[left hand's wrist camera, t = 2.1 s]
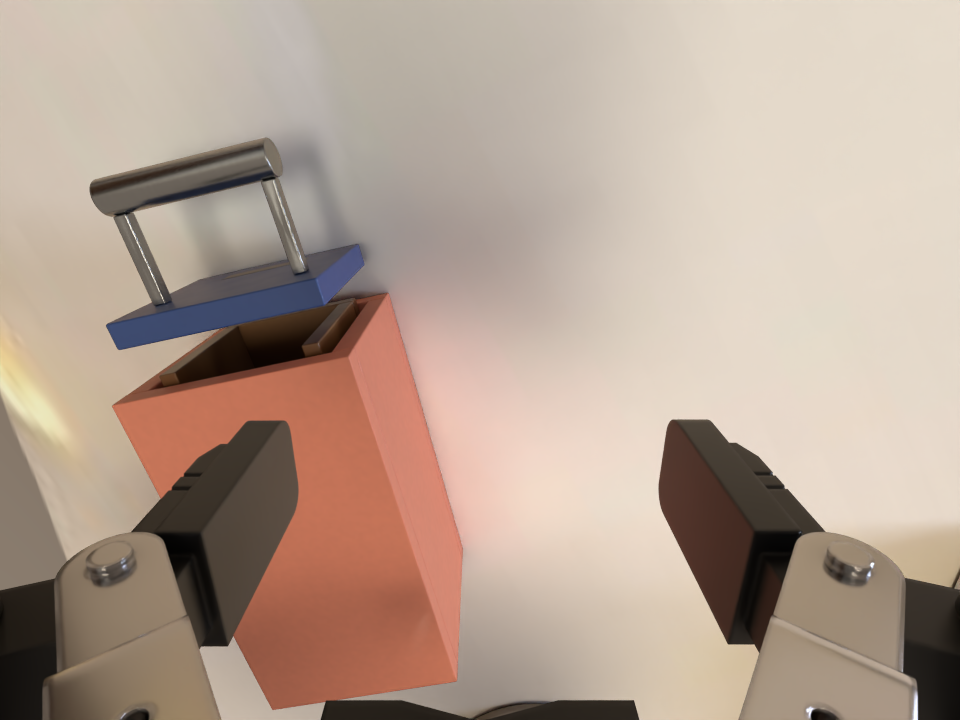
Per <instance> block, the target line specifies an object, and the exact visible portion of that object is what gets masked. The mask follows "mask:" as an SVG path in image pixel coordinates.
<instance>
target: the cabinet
mask: <svg viewBox="0 0 960 720" xmlns="http://www.w3.org/2000/svg"><path fill="white" fill-rule="evenodd" d="M356 302H357V305H358V308H359V311H360V314H359V315H358V316H357V318H356V319H355V321H354V322H353V323H352V325H351V326H350V328H349V329H348V330H347V332H346V333H345V335H344V336H343V337H342V339H341V340H340V342H339V343H338V344H337V346H336V347H335V349H334V350H333V351H332V353H327V354H322V355H317V356H312V357H308V358H303V359H298V360H293V361H289V362H284V363H279V364H274V365H270V366H265V367H260V368H255V369H251V370H246V371H241V372H236V373H231V374H227V375H222V376H217V377H212V378H208V379H203V380H198V381H193V382H189V383H184V384H179V385H174V386H169V387H165V388H164V386H163V384H162V382H161V380H160V378H159V376H160V375H161V374H163V373H164V372H165V371H167V370H168V369H170V368H171V367H172V366H174V365H175V364H177V363H178V362H179V361H181V360H182V359H184V358H185V357H186V356H188V355H189V354H190V353H192V352H193V351H195V350H196V349H197V348H199V347H200V346H202V345H203V344H204V343H206V342H207V341H209V340H210V339H211V338H213V337H214V336H216V335H217V334H218V333H220V332H221V331H223V330H224V329H226V328H224V329H220V330H218V331H217V332H216V333H214V334H213V335H212V336H210V337H209V338H208V339H206V340H205V341H203V342H202V343H201V344H199V345H198V346H196V347H195V348H193V349H192V350H191V351H189V352H188V353H186V354H185V355H184V356H182V357H181V358H179V359H178V360H177V361H175V362H174V363H172V364H171V365H169V366H168V367H167V368H165V369H164V370H162V371H161V372H160V373H158V374H157V375H155V376H154V377H152V378H151V379H150V380H148V381H147V382H145V383H144V384H143V385H141V386H140V387H138V388H137V389H136V390H134V391H133V392H131V393H130V394H129V395H127V396H125V397H124V398H122V399H121V400H119V401H118V402H117V403H115V404H114V405H113V406H112V407H113V409H114V411H115V413H116V415H117V416H118V418H119V420H120V422H121V424H122V426H123V428H124V430H125V432H126V434H127V435H128V437H129V439H130V441H131V443H132V445H133V447H134V449H135V451H136V452H137V454H138V456H139V458H140V460H141V462H142V464H143V466H144V468H145V469H146V471H147V473H148V475H149V477H150V479H151V481H152V483H153V485H154V487H155V488H156V490H157V492H158V494H159V496H160V498H162V497H163V496H164V495H165V494H166V493H167V492H168V490H172V486H173V485H174V484H175V483H176V482H177V480H178V479H179V478H180V477H183V476H184V473H185V472H186V470H187V469H188V468H189V467H190V466H191V465H192V464H193V463H194V462H195V460H196V459H197V458H198V457H200V456H201V455H203V454H205V453H206V452H208V451H210V450H211V449H213V448H215V447H216V446H218V445H219V444H228V443H229V441H230V440H231V439H232V438H233V437H234V435H235V434H236V433H237V432H238V431H239V430H240V428H241V427H242V426H243V425H244V424H245V423H246V422H247V421H250V420H284V421H286V422H287V423H288V425H289V427H290V431H291V438H292V444H293V451H294V458H295V464H296V471H297V478H298V486H299V494H298V503H297V507H296V511H295V513H294V516H293V518H292V520H291V522H290V524H289V526H288V528H287V530H286V532H285V534H284V535H283V537H282V539H281V541H280V543H279V545H278V547H277V549H276V551H275V553H274V555H273V557H272V559H271V561H270V563H269V565H268V567H267V569H266V571H265V573H264V575H263V577H262V579H261V581H260V583H259V585H258V587H257V589H256V591H255V593H254V595H253V597H252V599H251V601H250V603H249V605H248V607H247V609H246V611H245V613H244V615H243V617H242V619H241V621H240V623H239V625H238V627H237V629H236V631H235V633H234V635H233V636H234V638H235V640H236V642H237V644H238V646H239V647H240V649H241V651H242V653H243V655H244V657H245V659H246V661H247V663H248V664H249V666H250V668H251V670H252V672H253V674H254V676H255V678H256V680H257V681H258V683H259V685H260V687H261V689H262V691H263V693H264V695H265V697H266V699H267V700H268V702H269V704H270V706H271V708H272V710H276V709H282V708H289V707H295V706H301V705H308V704H314V703H321V702H326V700H340V699H347V698H353V697H359V696H366V695H372V694H379V693H385V692H392V691H398V690H404V689H411V688H417V687H424V686H430V685H437V684H443V683H450V682H456V681H457V669H458V664H457V663H458V645H459V622H460V599H461V576H462V555H463V548H462V545H461V541H460V538H459V534H458V531H457V528H456V524H455V521H454V517H453V514H452V510H451V507H450V503H449V500H448V497H447V493H446V490H445V486H444V483H443V479H442V476H441V472H440V469H439V466H438V462H437V459H436V455H435V452H434V448H433V445H432V441H431V438H430V435H429V431H428V428H427V424H426V421H425V417H424V414H423V410H422V407H421V404H420V400H419V397H418V393H417V390H416V386H415V383H414V379H413V376H412V373H411V369H410V366H409V362H408V359H407V355H406V352H405V348H404V345H403V342H402V338H401V335H400V331H399V328H398V324H397V321H396V317H395V314H394V311H393V307H392V304H391V300H390V297H389V294H388V293H385V294H380V295H376V296H371V297H366V298H362V299H357V300H356Z"/></svg>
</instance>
